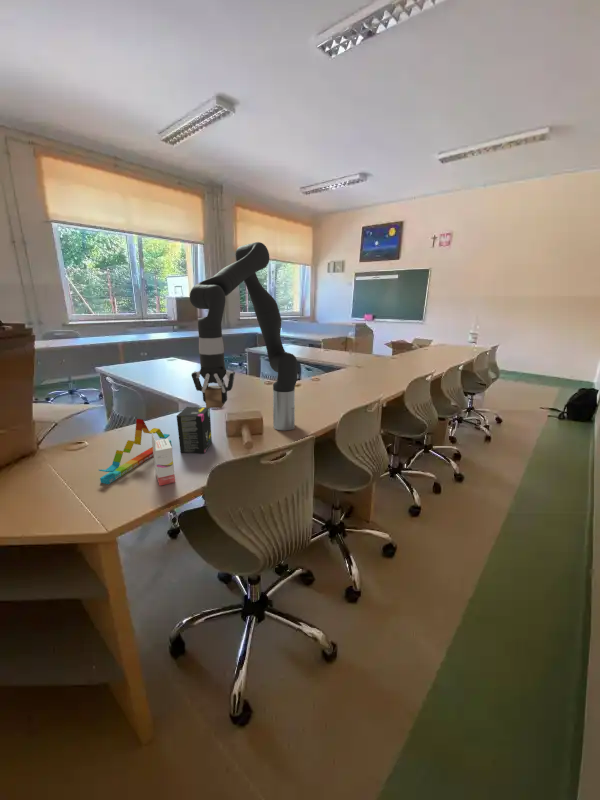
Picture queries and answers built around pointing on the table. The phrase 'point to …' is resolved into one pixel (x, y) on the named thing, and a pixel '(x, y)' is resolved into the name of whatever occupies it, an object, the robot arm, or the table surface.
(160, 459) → the ink cartridge box
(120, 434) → the table surface
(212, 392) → the walnut block
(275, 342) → the robot arm
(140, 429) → the chart
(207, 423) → the tampon box
